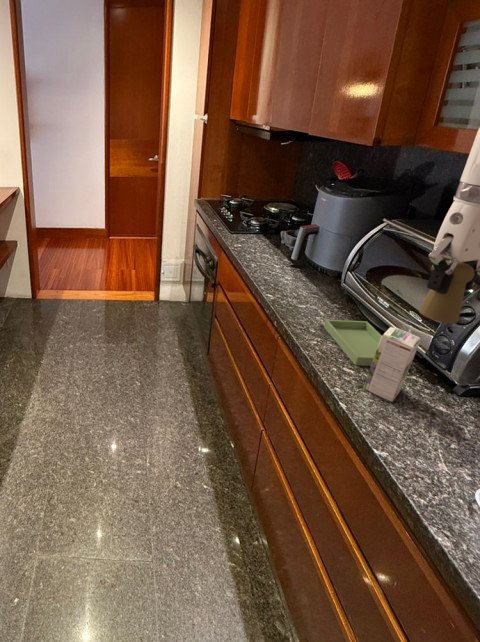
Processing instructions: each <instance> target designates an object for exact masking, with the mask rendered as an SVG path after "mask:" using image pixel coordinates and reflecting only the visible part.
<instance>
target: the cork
mask: <svg viewBox="0 0 480 642" xmlns="http://www.w3.org/2000/svg"><path fill="white" fill-rule="evenodd" d="M445 261H446V262H447V264H448V265H449V263H450V262H451V260H445ZM451 274H453V275H454V277H453V279H452V282H451V284H450V287H449V289H448V292H447V293H446V294H441V293H439V292H436V291H434V290H432V289H429V291H428V293H427V294H426V296H425V298H424V299H423V301H422V303H421V305H420V306H419V308H418V312H419V314H421V316H424V317H425V318H428V319H430V320H433V321H435V322H439V323H445V324H456V323H458V322H459V320H460V315H461V310H462V305H463V301H464V296H465V291H466V290H465V287H466V283H467V282H469V281H471V280H472V279H473V277H474V269H473V268H472V267H471V266H470V265H468V264H465V263H462V262H460V261H459V262H458V264H457V265H456V267H455V269H454V270H453V272H452V273H451Z"/></svg>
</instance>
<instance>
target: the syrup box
mask: <svg viewBox="0 0 480 642" xmlns="http://www.w3.org/2000/svg"><path fill="white" fill-rule="evenodd" d="M421 340H422V338H421V337H419V336H417V335H415V334H413V333H411V332H408V331H405V330H403V329H401V328H396V327H392V326H390V327H389V328H388V329H387V330H386V331H385V332H384V333H383V334H382V336H381V339H380V342H379V345H378V347H377V350H376V353H375V356H374V359H373V361H372V364H371V366H369V370H368V373H367V376H366V378H365V381H364V385H363V388H362V389H364V390H366V391H368V392H370V393H372V394H374V395H375V396H378V397H380V398H382V399H384V400H387V401H390V403H391V402H392V403H393V402H394V401H395V399H397V396H398V395H399V393H400V392H401V390H402V388H403V386H404V383H405V380H406V378H407V376H408V373H409V370H410V368H411V366H412V363H413V360H414V358H415V356H416V353H417V350H418V347H419V346H420V343H421Z"/></svg>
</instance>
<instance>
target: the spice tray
mask: <svg viewBox="0 0 480 642" xmlns="http://www.w3.org/2000/svg"><path fill="white" fill-rule="evenodd" d="M323 328H324V329H325V331H326V332H327V333H328V334H329V335H330V336H331V338H333V340H334V341H335V343H336V344H337V345H338V346H339V347H340V348H341V350H342V351H343V352H344V353H345V354H346V356H347V357H348V358H349V360H350V361H351V363H353V364H354V366H364V367H367V366H368V367H371V364H372V361H373V359H374V356H375V353H376V350H377V347H378V345H379V342H380V339H381V336H383V334H381V333H380V332H379V331H378V330H376V328H375V327H374V326H372V324H370V323H369V322H368V321H367V320H345V319H343V320H342V319H325V320H324V324H323Z"/></svg>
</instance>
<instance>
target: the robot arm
mask: <svg viewBox="0 0 480 642" xmlns="http://www.w3.org/2000/svg"><path fill="white" fill-rule="evenodd" d="M452 199H453V202H452V204H451V206H450V208H448V211H447V213H446V214H445V217H444V219H443V221H442V223H441V226H440V228H439V230H438V233H437V235H436V239H435V242H434V245H433V249H432V251H430V253H429V254H428V259H429V260H430V262H431V264H432V266H431V269H432V271H431V273H430V276H429V279H428V282H427V285H426V288H427V289H429V290H430V289H432V290H434V291H436V292H439V293H441V294H446V293H447V292H448V289H449V287H450V284H451V282H452V279H453V277H454V275H453V274H451V273H452V272H453V270H454V269H455V267H456V265H457V264H458V262H462V263H465V264H468V265H470V266H471V267H472V268H473V269H474V277H473V279H472V280H471V281H469V282H467V283H466V287H465V291H470V290H471V289H472V287H473V284H474V282H475V280H476V277H477V274H478V273H479V271H480V126H479V127H478V130H477V132H476V135H475V138H474V141H473V144H472V146H471V149H470V151H469V154H468V157H467V160H466V163H465V166H464V169H463V171H462V174H461V177H460V178H459V182H458V185H457V187H456V191H455V193H454V196H453V198H452ZM448 254H451V255H448ZM445 259H446V260H445ZM447 260H448V261H451V262H450V263H449V265H448V264H447V262H446V261H447Z"/></svg>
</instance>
